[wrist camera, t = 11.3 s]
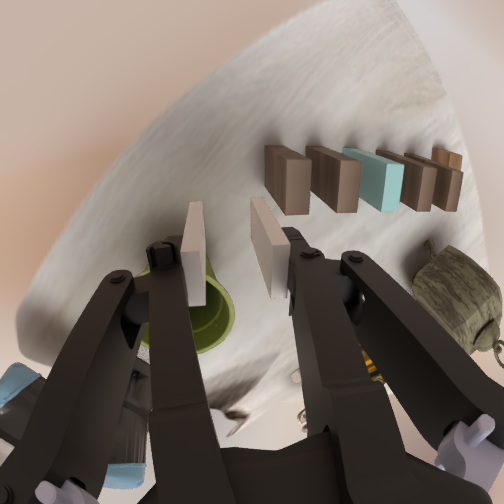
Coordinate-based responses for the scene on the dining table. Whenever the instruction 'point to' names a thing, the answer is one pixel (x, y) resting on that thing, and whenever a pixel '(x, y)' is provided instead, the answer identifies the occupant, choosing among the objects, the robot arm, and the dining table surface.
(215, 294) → the plant pot
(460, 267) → the tabletop clock
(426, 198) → the domino
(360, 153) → the teal domino
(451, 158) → the block
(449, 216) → the dining table surface
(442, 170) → the domino
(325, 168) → the domino
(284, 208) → the domino
